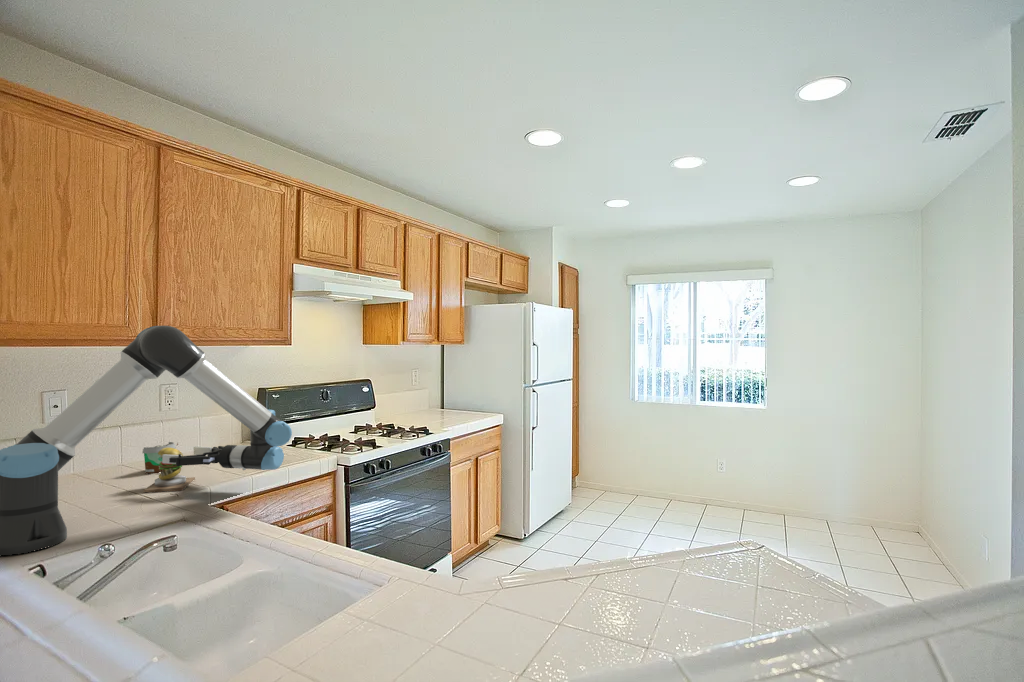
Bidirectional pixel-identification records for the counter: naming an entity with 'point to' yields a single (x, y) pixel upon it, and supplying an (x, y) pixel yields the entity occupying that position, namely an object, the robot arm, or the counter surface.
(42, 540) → the robot arm
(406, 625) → the counter surface
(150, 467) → the food container
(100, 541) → the counter surface
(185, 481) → the soap dish
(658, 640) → the counter surface
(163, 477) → the hamburger
